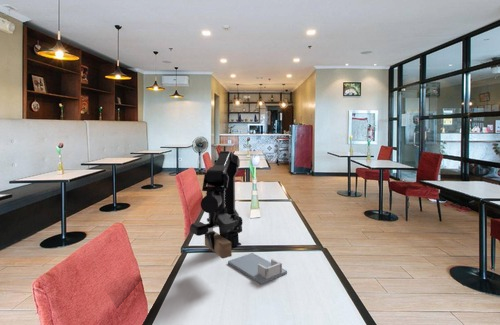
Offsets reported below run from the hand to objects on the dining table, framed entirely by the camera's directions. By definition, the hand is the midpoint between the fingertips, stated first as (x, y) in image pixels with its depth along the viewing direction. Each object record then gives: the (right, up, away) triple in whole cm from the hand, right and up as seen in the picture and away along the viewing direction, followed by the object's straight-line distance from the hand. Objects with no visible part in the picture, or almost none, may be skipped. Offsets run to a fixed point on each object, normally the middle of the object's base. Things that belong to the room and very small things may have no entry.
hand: (217, 247), depth 112 cm
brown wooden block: (0, -1, 0) cm, 1 cm away
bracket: (+14, -9, +5) cm, 17 cm away
